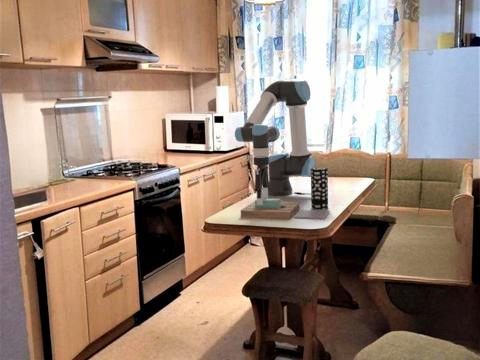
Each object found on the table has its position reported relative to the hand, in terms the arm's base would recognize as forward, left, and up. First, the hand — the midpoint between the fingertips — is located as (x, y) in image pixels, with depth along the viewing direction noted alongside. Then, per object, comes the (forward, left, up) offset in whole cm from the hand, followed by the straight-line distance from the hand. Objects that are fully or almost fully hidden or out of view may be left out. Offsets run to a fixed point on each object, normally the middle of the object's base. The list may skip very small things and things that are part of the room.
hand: (262, 202), depth 251 cm
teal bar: (0, +3, -3) cm, 4 cm away
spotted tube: (-16, +25, -6) cm, 30 cm away
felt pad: (0, +25, -5) cm, 25 cm away
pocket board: (0, +4, -5) cm, 7 cm away
